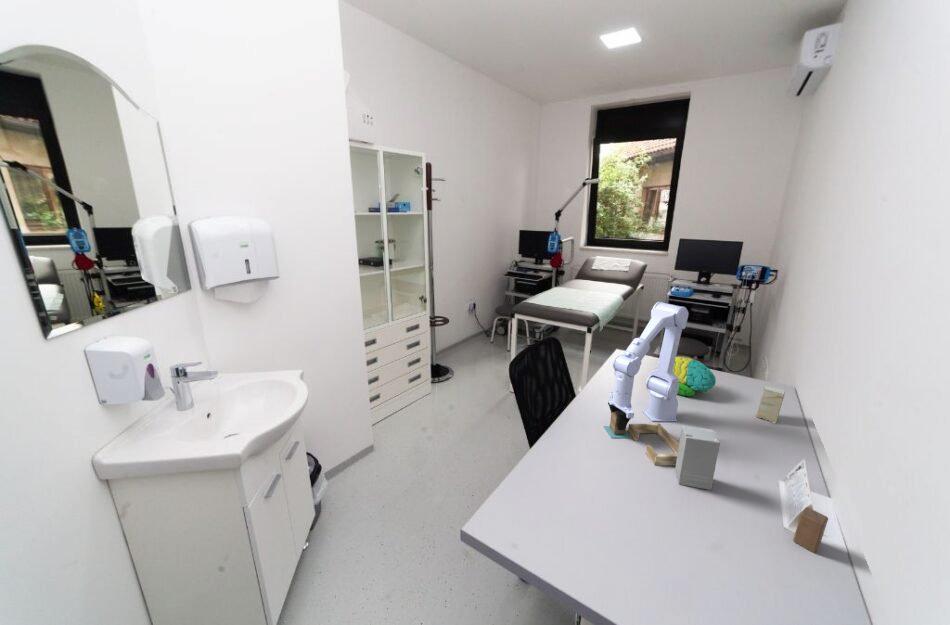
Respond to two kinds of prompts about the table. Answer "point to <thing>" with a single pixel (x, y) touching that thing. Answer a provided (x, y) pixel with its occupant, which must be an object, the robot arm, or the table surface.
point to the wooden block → (810, 529)
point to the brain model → (692, 376)
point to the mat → (616, 434)
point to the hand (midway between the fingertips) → (618, 425)
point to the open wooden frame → (653, 456)
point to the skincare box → (697, 457)
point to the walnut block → (615, 425)
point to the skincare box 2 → (770, 403)
